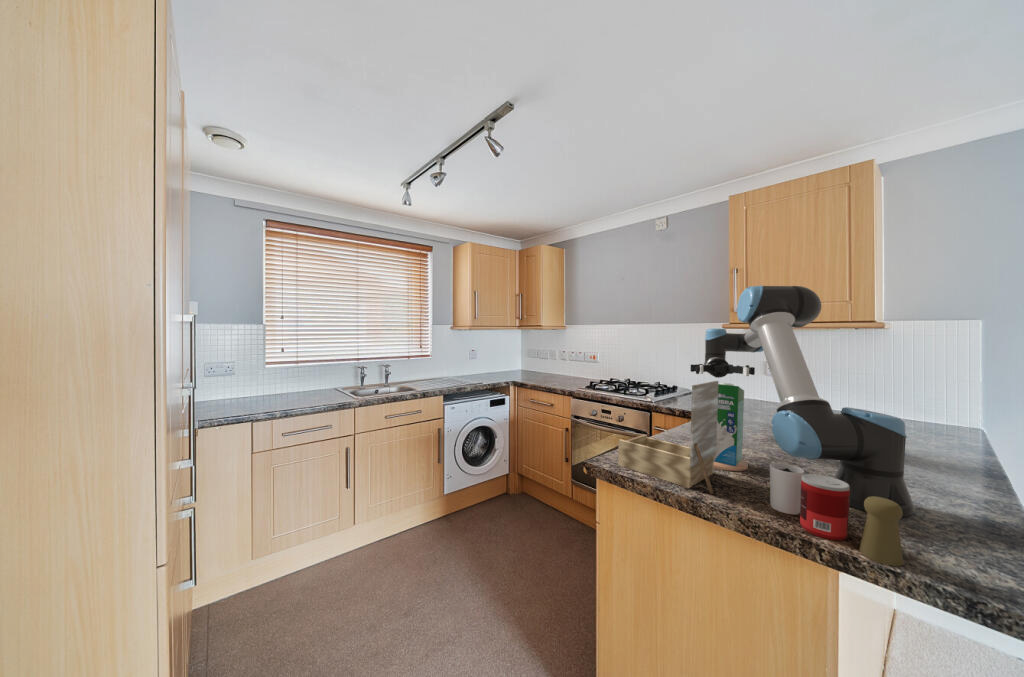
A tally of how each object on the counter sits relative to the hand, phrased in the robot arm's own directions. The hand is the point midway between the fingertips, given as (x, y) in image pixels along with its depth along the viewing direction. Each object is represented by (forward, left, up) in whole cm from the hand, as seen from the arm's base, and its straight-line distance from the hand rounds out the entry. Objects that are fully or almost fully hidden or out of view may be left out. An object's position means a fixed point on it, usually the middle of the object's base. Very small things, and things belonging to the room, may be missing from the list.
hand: (724, 371), depth 126 cm
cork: (-41, +38, -30) cm, 63 cm away
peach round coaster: (-3, +7, -29) cm, 30 cm away
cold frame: (+4, +27, -30) cm, 40 cm away
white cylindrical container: (-24, +29, -30) cm, 48 cm away
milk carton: (-3, +7, -28) cm, 29 cm away
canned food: (-32, +35, -30) cm, 56 cm away
